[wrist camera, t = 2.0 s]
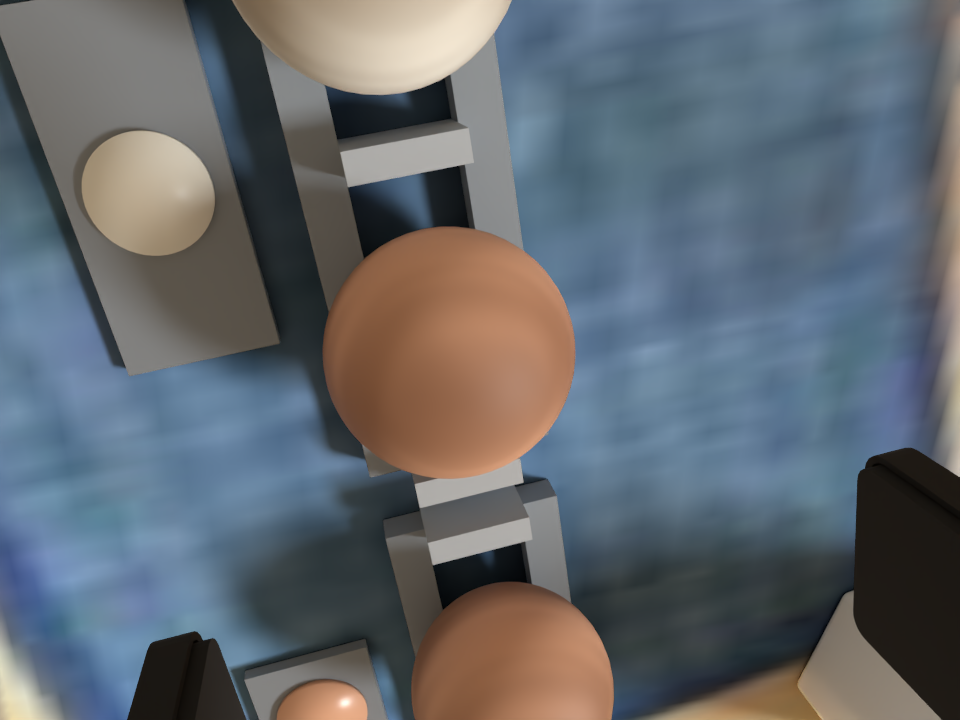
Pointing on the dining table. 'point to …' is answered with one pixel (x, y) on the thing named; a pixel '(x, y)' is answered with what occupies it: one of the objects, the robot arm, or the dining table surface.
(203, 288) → the tiles
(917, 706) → the jar
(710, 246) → the dining table surface
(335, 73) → the cream ball
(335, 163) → the grey ball rail
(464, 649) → the terracotta ball
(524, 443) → the terracotta ball
